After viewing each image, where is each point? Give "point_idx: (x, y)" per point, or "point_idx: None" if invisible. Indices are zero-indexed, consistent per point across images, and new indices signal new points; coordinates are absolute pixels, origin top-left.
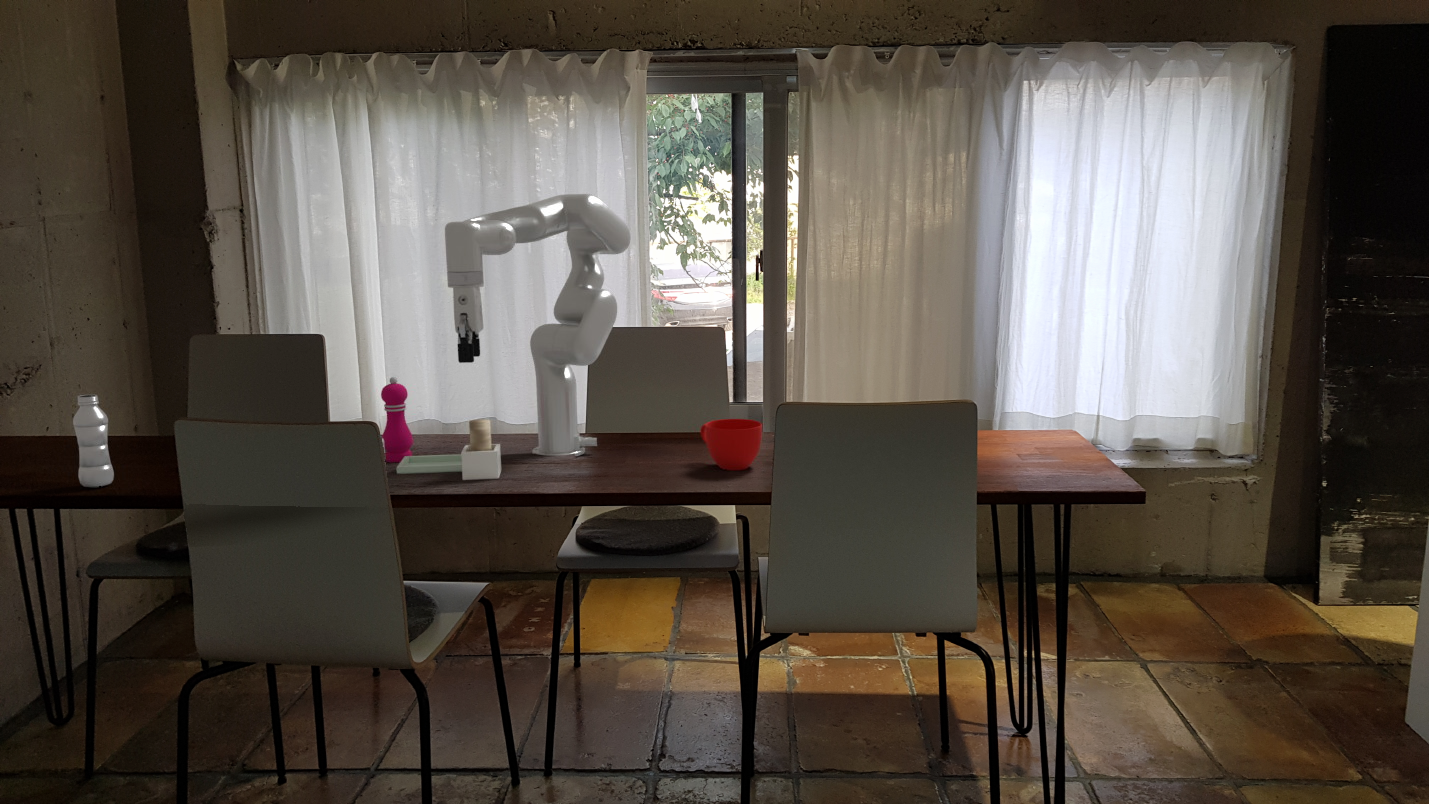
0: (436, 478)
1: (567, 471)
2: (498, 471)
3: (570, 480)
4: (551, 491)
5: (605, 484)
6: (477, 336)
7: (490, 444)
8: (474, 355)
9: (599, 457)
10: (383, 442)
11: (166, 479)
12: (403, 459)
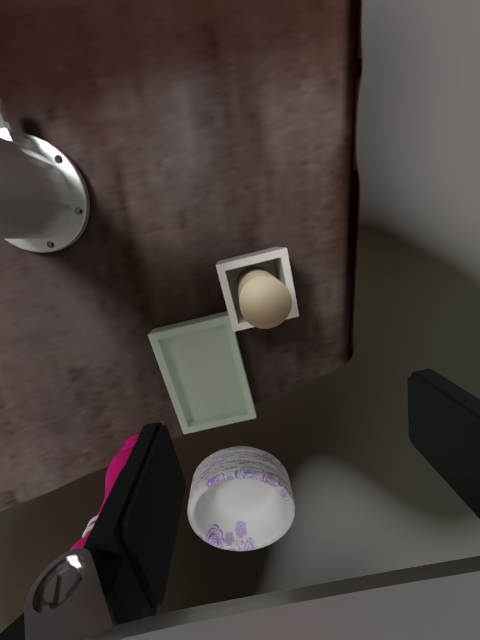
0: (251, 355)
1: (181, 135)
2: (272, 248)
3: (251, 107)
4: (333, 125)
5: (280, 11)
6: (96, 569)
7: (261, 271)
8: (171, 447)
9: (45, 89)
10: (227, 470)
11: None
12: (205, 428)
